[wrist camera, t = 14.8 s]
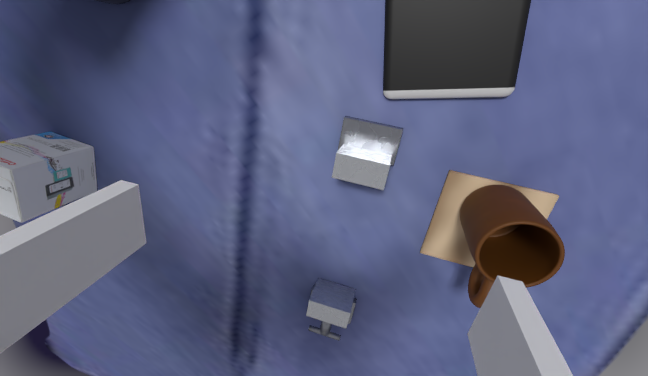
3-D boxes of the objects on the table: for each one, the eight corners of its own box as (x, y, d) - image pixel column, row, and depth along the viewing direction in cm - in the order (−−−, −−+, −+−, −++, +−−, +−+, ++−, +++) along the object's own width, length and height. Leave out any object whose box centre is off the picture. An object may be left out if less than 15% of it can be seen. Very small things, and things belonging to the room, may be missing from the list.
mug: (492, 273, 39) (516, 331, 31) (434, 254, 40) (442, 304, 32) (542, 194, 34) (586, 237, 26) (474, 173, 35) (496, 208, 27)
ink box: (57, 176, 53) (-29, 204, 43) (50, 130, 49) (-46, 148, 39) (98, 192, 52) (21, 224, 42) (94, 146, 48) (8, 169, 38)
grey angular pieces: (308, 313, 50) (298, 337, 46) (345, 116, 37) (337, 123, 32) (349, 326, 49) (343, 352, 45) (403, 128, 36) (402, 137, 31)
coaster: (420, 251, 41) (420, 252, 41) (449, 169, 36) (449, 171, 36) (513, 276, 39) (514, 278, 39) (557, 194, 34) (559, 196, 34)
